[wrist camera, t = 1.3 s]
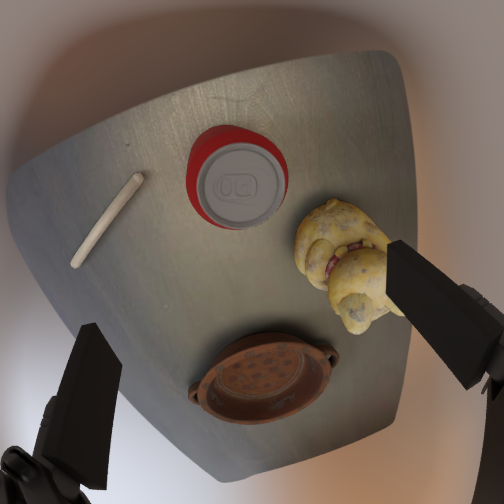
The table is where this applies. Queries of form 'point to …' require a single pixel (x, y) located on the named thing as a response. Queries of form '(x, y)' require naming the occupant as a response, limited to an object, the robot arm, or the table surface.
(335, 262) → the decorative figurine
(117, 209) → the wooden stick
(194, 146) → the beverage can
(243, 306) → the table surface
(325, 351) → the dish
